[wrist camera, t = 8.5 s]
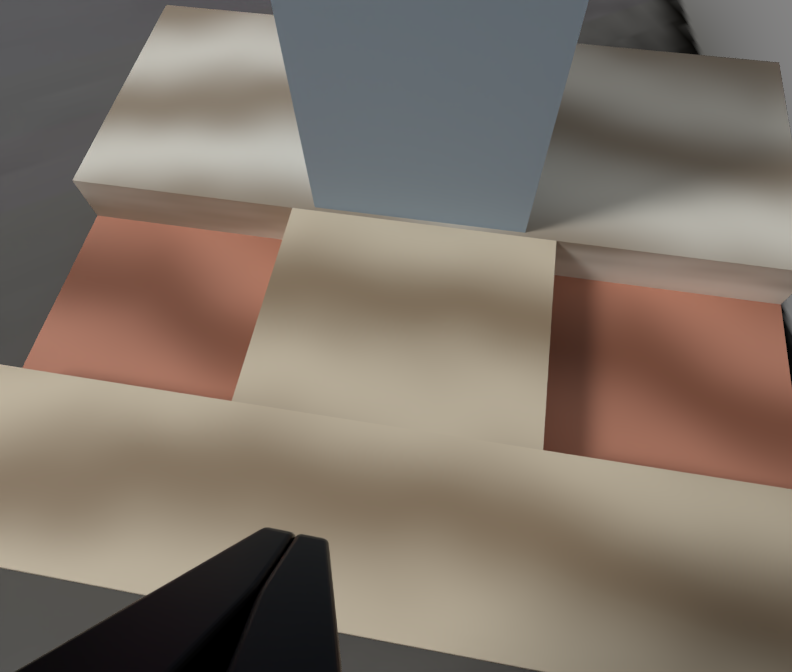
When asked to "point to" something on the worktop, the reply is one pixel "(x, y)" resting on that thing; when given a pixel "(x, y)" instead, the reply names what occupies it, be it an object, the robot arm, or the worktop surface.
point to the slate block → (428, 102)
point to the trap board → (431, 368)
